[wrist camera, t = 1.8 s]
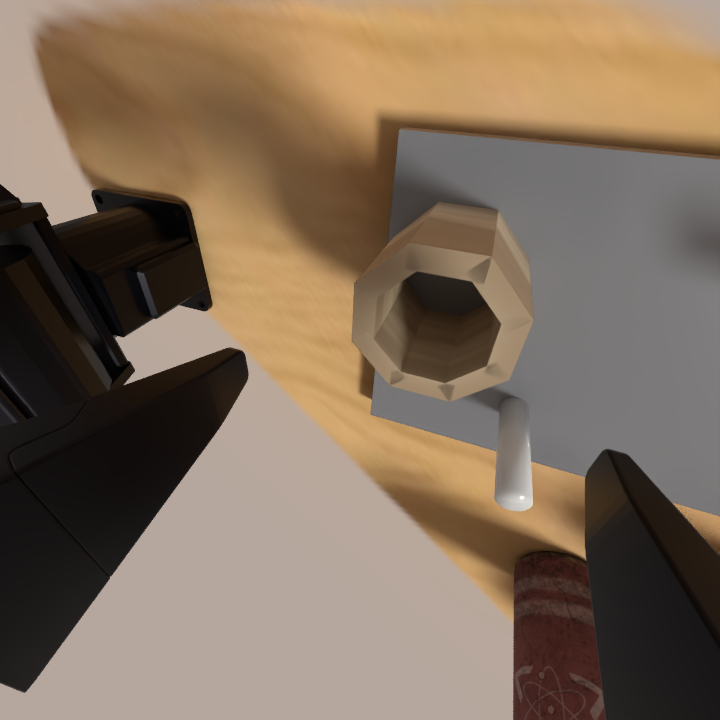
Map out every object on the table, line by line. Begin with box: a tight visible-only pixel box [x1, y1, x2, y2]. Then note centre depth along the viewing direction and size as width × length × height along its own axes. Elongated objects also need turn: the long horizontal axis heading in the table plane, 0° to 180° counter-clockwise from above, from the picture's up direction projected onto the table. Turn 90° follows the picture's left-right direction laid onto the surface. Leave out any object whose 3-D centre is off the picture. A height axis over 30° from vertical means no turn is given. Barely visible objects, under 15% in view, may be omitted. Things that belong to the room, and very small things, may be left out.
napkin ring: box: [352, 202, 534, 402], centre depth 13 cm, size 6×6×5 cm
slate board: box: [371, 127, 720, 516], centre depth 13 cm, size 25×15×7 cm, turn 87°
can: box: [513, 552, 606, 720], centre depth 22 cm, size 6×6×14 cm
